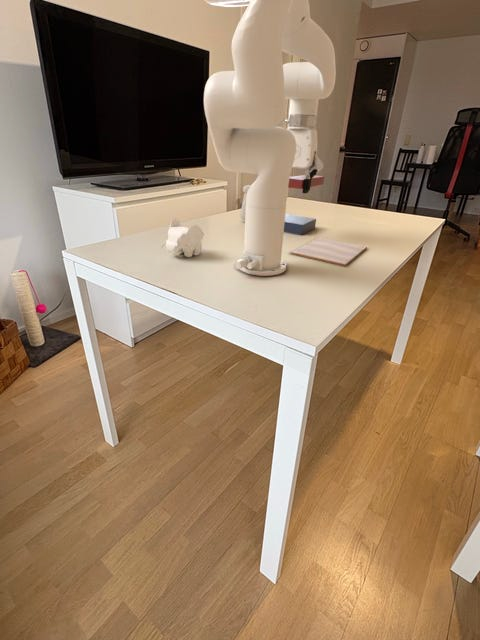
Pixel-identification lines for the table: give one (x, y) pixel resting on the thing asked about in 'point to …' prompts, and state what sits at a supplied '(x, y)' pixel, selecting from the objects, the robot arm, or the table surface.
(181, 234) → the elephant figurine
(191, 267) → the table surface
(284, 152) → the robot arm
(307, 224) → the navy book
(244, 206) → the salt shaker
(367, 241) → the table surface
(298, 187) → the red rectangular block
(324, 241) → the wooden board
